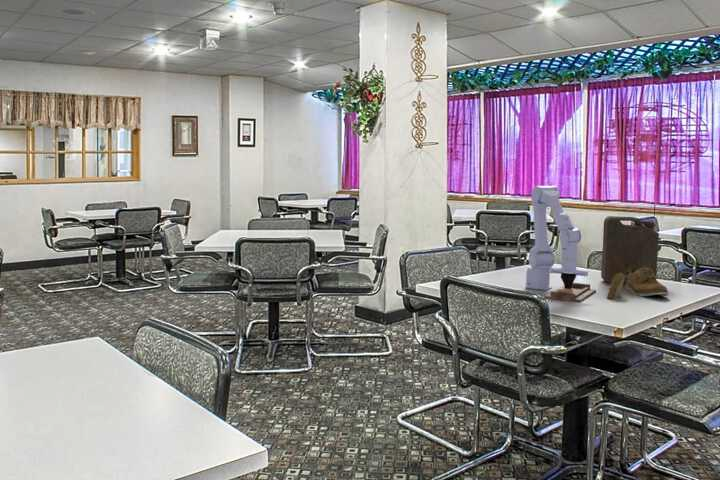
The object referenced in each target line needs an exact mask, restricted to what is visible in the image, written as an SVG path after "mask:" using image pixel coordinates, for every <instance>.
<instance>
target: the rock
mask: <svg viewBox="0 0 720 480" xmlns="http://www.w3.org/2000/svg"><path fill="white" fill-rule="evenodd" d="M624 278H625V275H624V274H623V273H618V274H616V275H615V276H614V277H612V283H611V284H610V287H609V289H608V293H607V295H606V299H609V300H613V299H615V298H616V297H617V298H619V297H620V296H622V290H623V285H624V284H623V282H624Z"/></svg>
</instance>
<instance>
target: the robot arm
mask: <svg viewBox="0 0 720 480" xmlns="http://www.w3.org/2000/svg"><path fill="white" fill-rule="evenodd" d="M530 193H531V194H530V195H531V205H532V208H533V210H532V211H533V226H534V227H533V229H534V245H533V247H531V248H530V249H529V256H528V264H529V265H530V266H528V267H527V269H526V273H525V274H526V275H525V276H526V277H525V289H533V290H542V291H543V290H544V291H547V290H551V289H552V288H553V286H552V285H550V278H551V277H550V275H551V274H559V275H560V278H561V281H562V283H563V286H564V287H565V288H567V289H571V287H572V284H573V283H575V282H574V281H575V280H576V278H577V276H580V277H588V275H589V271H587V270H583V269H582V270H580V269H577V262H578V261H577V260H578V244H579V243H580V242H581V240H582V233H581V230H580V229H579V228H577V227H576V226H574V224H573V222H572V220H571V218H570V216H569V215H568V214H566V213H565V212H564V209H563V207H562V204H561V201H560V199H559V198H560V191H559V188H558V186H556V185H534V187H533V188H532V190H531V192H530ZM548 207H550V209H551V211H552V212H553V214H554V216H555V218H554V222H555V224H556V227H557V229H558V230H559V233H560V235H559V241H560V247H561V248H562V249H561V267H559V268H558V267H557V268H556V267H553V266H554V264H555V262H556V258H555V254H554V249H553V248H552V247H551V246H550V245H549V244H548V225H547V222H548V221H547V208H548Z"/></svg>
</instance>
